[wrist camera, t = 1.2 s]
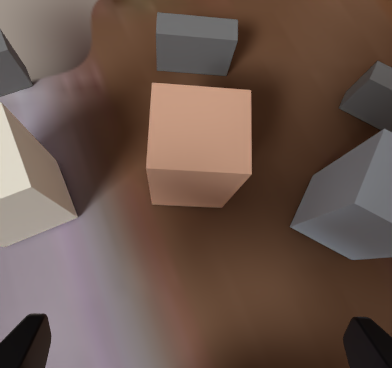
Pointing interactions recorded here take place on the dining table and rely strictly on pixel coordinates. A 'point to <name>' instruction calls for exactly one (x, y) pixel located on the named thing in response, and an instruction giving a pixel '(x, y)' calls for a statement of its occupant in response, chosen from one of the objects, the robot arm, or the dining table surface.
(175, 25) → the block
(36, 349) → the robot arm
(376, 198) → the gray rectangular block
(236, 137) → the salmon rectangular block
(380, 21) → the dining table surface
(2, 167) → the cream rectangular block
